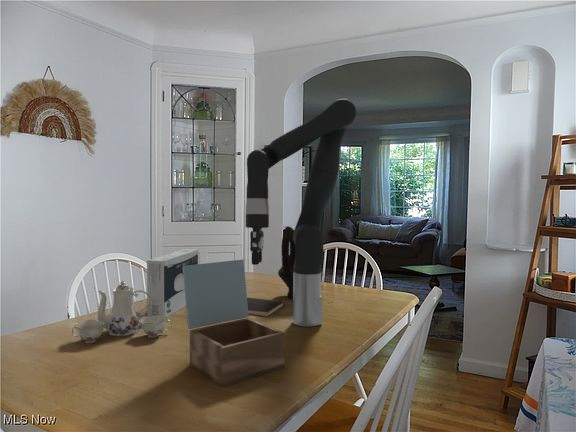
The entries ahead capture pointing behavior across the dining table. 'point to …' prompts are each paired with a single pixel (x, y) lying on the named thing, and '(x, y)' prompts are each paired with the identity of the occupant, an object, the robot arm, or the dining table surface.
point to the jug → (288, 260)
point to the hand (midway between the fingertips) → (256, 263)
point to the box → (236, 350)
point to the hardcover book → (263, 306)
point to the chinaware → (121, 317)
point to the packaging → (168, 282)
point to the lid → (215, 293)
